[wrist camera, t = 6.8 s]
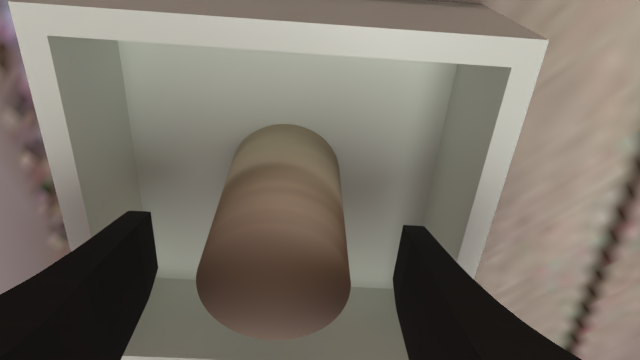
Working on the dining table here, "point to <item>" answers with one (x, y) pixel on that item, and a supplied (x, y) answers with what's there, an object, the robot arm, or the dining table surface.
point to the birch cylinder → (277, 238)
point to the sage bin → (271, 109)
